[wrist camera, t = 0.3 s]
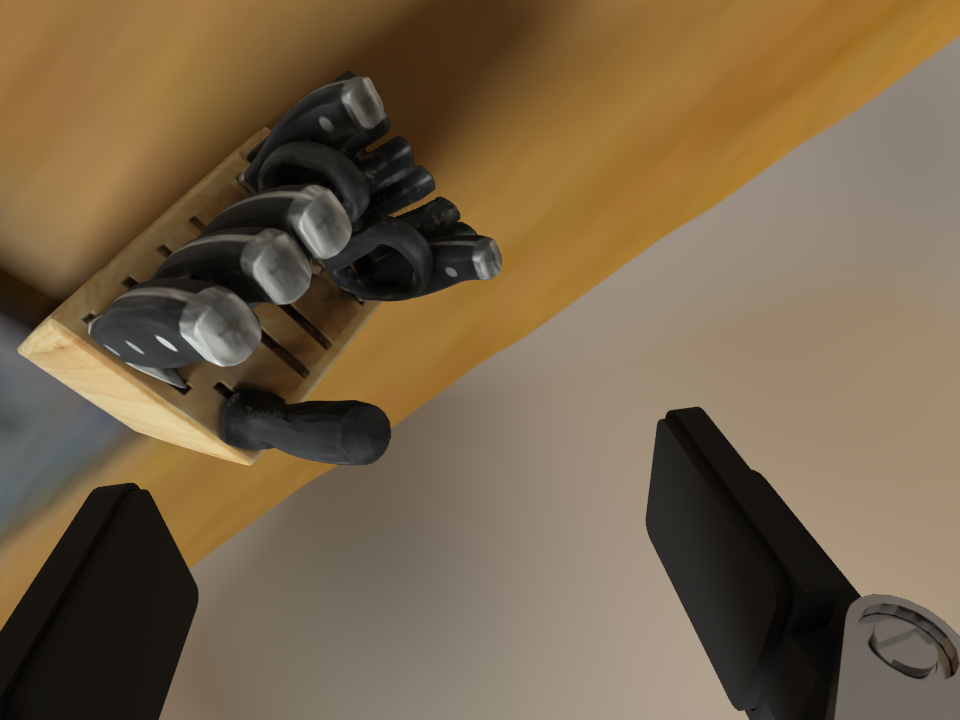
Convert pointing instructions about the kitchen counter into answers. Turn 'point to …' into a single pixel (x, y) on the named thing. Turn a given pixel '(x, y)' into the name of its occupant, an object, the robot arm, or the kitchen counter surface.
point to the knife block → (265, 289)
